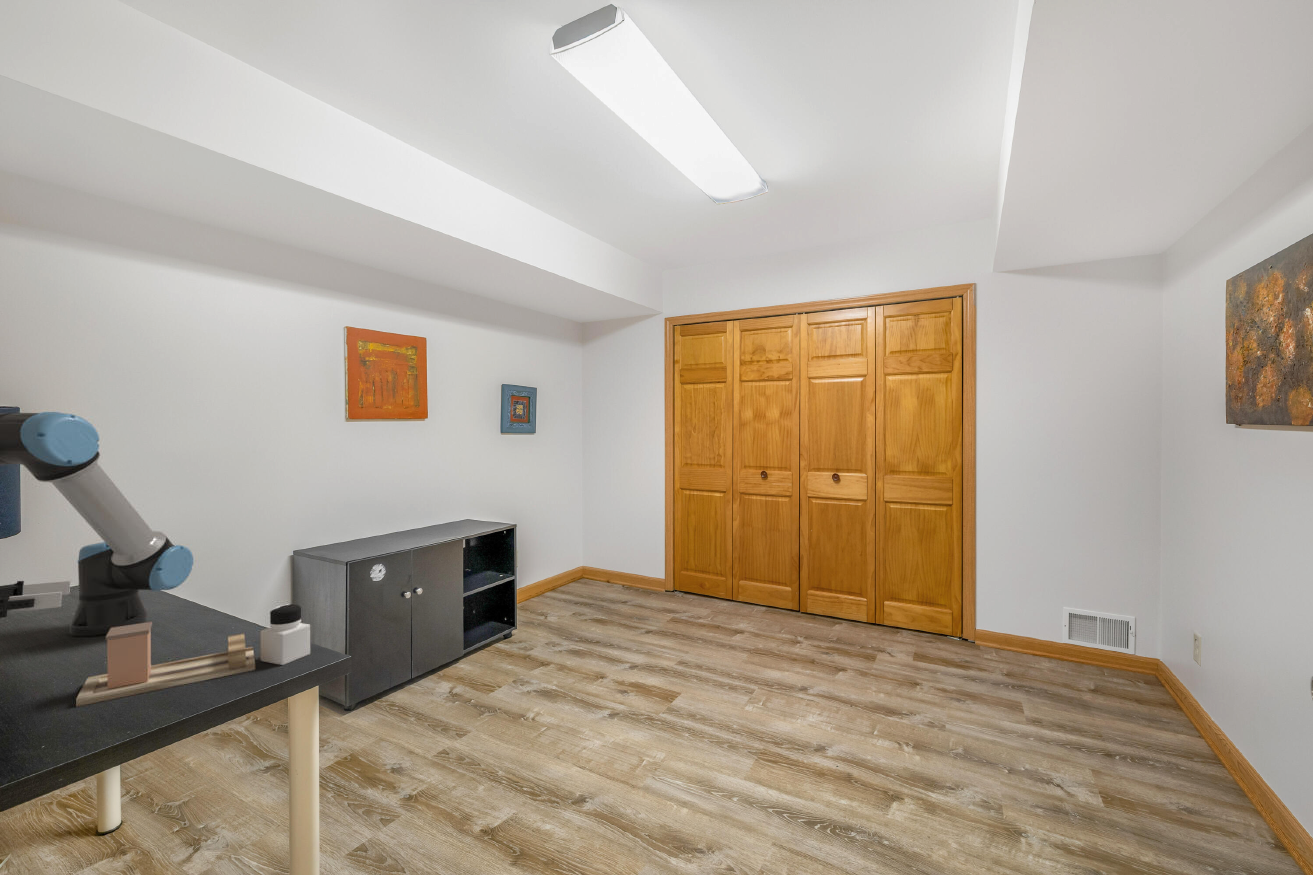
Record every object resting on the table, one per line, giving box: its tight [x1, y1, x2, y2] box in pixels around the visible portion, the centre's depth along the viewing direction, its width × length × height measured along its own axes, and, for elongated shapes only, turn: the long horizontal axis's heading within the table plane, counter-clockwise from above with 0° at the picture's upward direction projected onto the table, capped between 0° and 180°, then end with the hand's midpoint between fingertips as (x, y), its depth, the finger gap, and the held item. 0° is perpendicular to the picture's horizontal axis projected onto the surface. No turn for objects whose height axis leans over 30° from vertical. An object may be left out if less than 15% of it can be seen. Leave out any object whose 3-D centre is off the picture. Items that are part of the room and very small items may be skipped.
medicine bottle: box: [260, 603, 311, 666], centre depth 132 cm, size 7×7×12 cm
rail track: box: [75, 633, 256, 707], centre depth 122 cm, size 12×28×5 cm, turn 127°
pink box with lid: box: [105, 621, 153, 689], centre depth 118 cm, size 6×6×11 cm
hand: (66, 592), depth 112 cm, fingers open, 13 cm apart
